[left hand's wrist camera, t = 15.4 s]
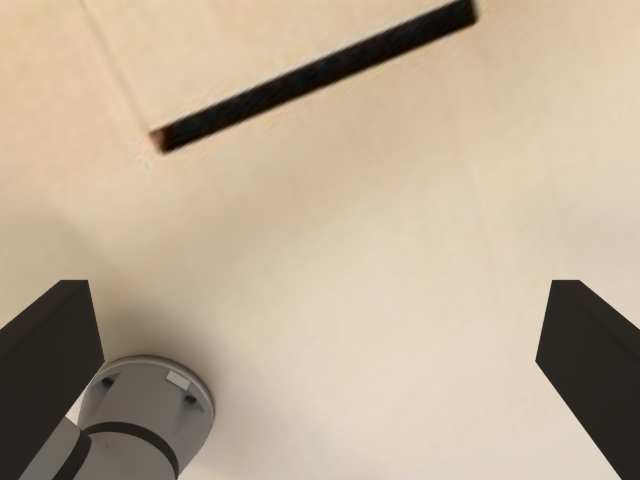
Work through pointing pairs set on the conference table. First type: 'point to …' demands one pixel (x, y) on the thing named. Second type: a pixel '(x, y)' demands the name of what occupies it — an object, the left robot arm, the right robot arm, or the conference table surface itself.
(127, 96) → the conference table surface
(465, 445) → the conference table surface
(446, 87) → the conference table surface
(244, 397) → the conference table surface
